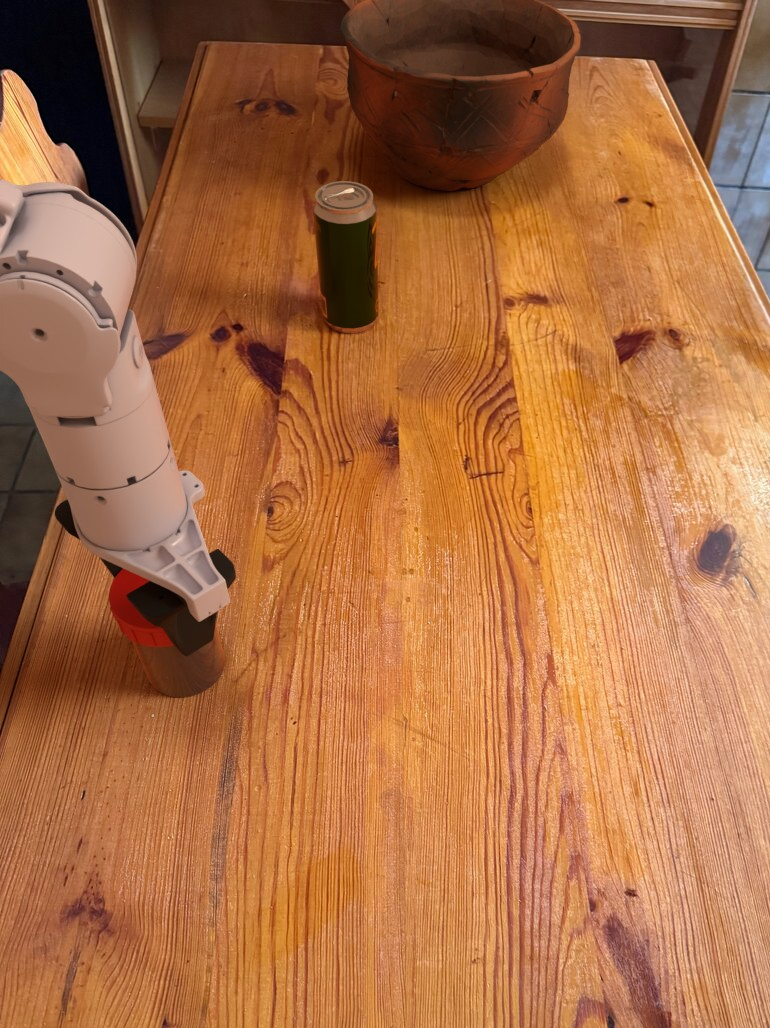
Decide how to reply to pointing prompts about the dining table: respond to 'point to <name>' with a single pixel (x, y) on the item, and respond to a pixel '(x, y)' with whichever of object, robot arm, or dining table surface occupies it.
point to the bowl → (458, 83)
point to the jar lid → (133, 612)
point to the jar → (182, 667)
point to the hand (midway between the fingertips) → (168, 613)
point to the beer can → (347, 255)
